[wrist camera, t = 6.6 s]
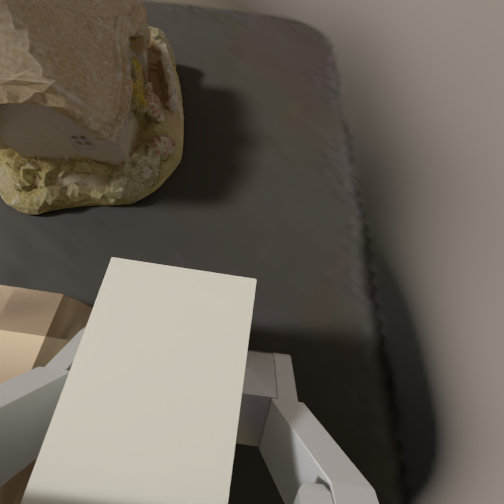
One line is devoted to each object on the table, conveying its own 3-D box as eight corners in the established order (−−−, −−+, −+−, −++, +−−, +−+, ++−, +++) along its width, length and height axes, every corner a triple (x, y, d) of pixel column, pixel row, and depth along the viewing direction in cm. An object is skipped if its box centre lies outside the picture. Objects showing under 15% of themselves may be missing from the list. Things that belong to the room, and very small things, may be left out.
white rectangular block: (223, 436, 12) (217, 583, 4) (153, 427, 11) (0, 558, 4) (238, 330, 13) (256, 278, 6) (178, 321, 13) (111, 256, 5)
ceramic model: (173, 226, 15) (99, 23, 6) (-36, 213, 15) (-478, -47, 5) (198, 68, 21) (178, -162, 12) (48, 52, 20) (-100, -211, 11)
